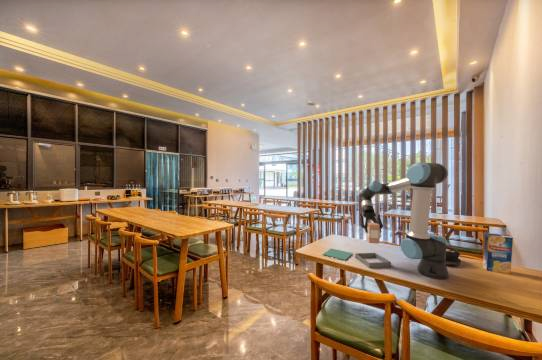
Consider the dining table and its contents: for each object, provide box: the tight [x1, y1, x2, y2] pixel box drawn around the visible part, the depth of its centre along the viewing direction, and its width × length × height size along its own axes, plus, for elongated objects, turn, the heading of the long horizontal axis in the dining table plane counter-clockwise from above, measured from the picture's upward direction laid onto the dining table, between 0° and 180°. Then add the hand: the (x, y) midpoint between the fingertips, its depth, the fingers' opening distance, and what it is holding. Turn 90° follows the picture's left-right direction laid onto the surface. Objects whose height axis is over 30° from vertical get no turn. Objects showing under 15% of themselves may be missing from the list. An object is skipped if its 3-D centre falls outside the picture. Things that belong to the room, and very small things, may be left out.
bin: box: [354, 252, 392, 269], centre depth 153 cm, size 17×15×3 cm
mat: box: [322, 248, 353, 262], centre depth 166 cm, size 16×16×1 cm
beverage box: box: [482, 232, 514, 275], centre depth 145 cm, size 7×11×22 cm, turn 62°
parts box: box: [366, 222, 380, 244], centre depth 153 cm, size 6×6×12 cm
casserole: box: [445, 245, 462, 266], centre depth 160 cm, size 25×19×8 cm
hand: (374, 237), depth 150 cm, fingers closed on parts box, 6 cm apart
